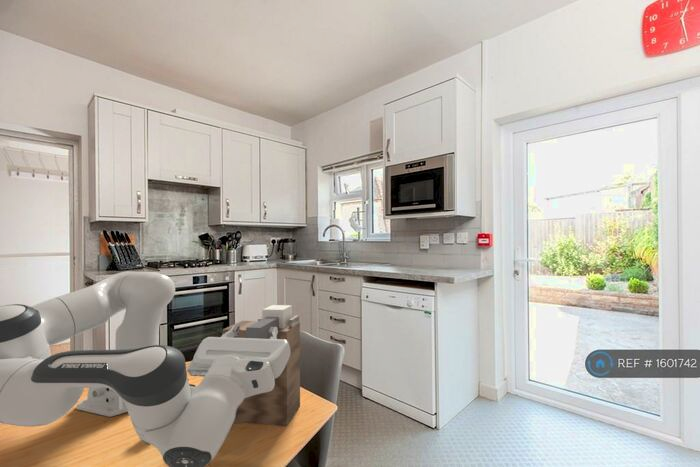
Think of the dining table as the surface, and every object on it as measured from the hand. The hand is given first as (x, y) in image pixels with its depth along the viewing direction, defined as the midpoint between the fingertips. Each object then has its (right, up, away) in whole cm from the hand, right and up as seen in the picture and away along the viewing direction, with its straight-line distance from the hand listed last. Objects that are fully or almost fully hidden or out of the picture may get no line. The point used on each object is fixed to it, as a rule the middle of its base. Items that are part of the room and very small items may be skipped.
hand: (255, 328), depth 78 cm
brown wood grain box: (-2, -27, +13) cm, 30 cm away
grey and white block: (+1, -3, +8) cm, 9 cm away
